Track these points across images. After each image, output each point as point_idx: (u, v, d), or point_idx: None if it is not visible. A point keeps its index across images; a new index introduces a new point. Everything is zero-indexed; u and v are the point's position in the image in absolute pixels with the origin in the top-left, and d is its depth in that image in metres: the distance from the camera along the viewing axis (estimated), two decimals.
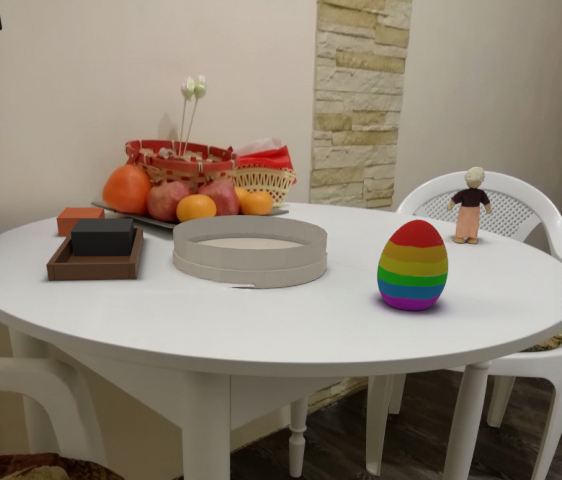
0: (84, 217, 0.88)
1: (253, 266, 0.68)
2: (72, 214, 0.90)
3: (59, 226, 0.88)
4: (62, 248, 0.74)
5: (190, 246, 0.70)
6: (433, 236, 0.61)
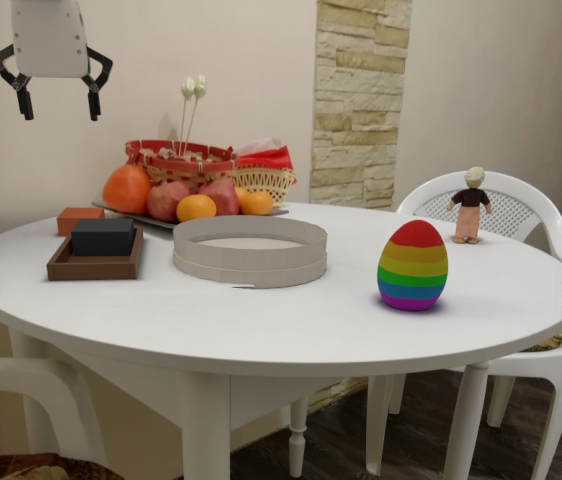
0: (84, 217, 0.88)
1: (253, 266, 0.68)
2: (72, 214, 0.90)
3: (59, 226, 0.88)
4: (62, 248, 0.74)
5: (190, 246, 0.70)
6: (433, 236, 0.61)
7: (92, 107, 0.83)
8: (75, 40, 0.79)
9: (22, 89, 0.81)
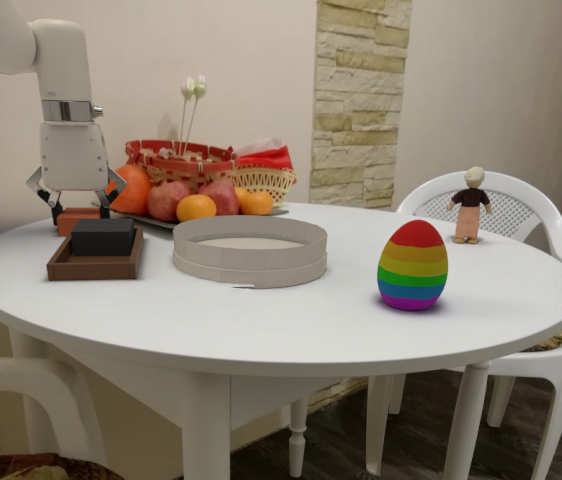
0: (84, 217, 0.88)
1: (253, 266, 0.68)
2: (72, 214, 0.90)
3: (59, 226, 0.88)
4: (62, 248, 0.74)
5: (190, 246, 0.70)
6: (433, 236, 0.61)
7: None
8: (97, 160, 0.86)
9: (56, 205, 0.90)
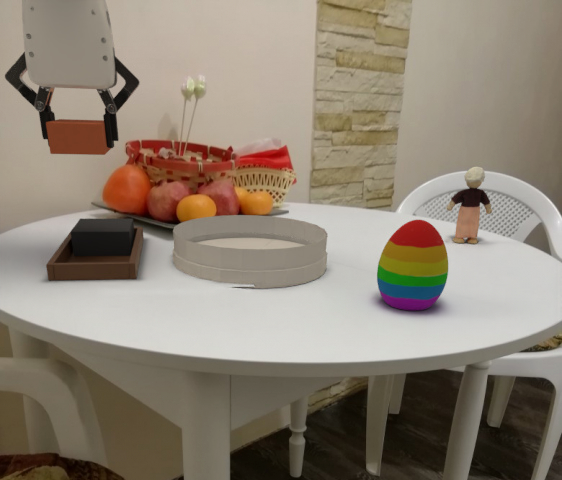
0: (83, 123, 0.66)
1: (253, 266, 0.68)
2: (67, 121, 0.67)
3: (50, 134, 0.65)
4: (62, 248, 0.74)
5: (190, 246, 0.70)
6: (433, 236, 0.61)
7: (108, 131, 0.69)
8: (101, 43, 0.64)
9: (46, 110, 0.67)
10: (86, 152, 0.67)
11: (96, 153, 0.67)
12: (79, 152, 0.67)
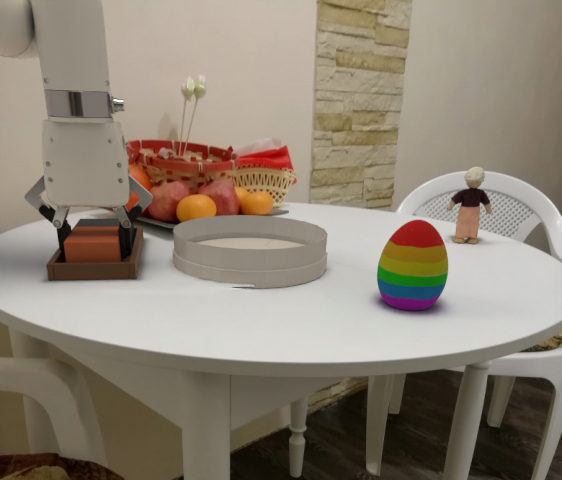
0: (99, 241, 0.68)
1: (253, 266, 0.68)
2: (83, 237, 0.70)
3: (67, 253, 0.68)
4: None
5: (190, 246, 0.70)
6: (433, 236, 0.61)
7: (123, 244, 0.72)
8: (116, 168, 0.67)
9: (63, 225, 0.70)
10: None
11: None
12: None
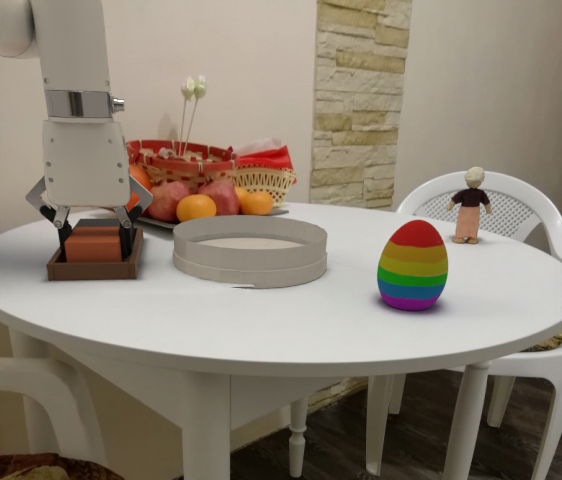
0: (100, 241, 0.68)
1: (253, 266, 0.68)
2: (84, 237, 0.70)
3: (68, 253, 0.68)
4: None
5: (190, 246, 0.70)
6: (433, 236, 0.61)
7: (123, 244, 0.72)
8: (117, 168, 0.67)
9: (64, 226, 0.70)
10: None
11: None
12: None
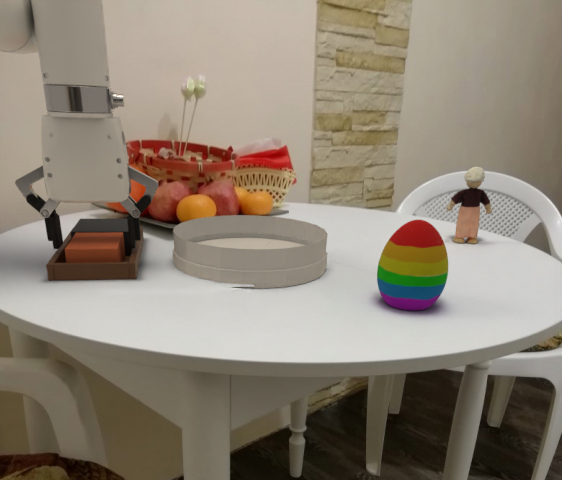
0: (100, 247, 0.69)
1: (253, 266, 0.68)
2: (84, 243, 0.71)
3: (68, 259, 0.68)
4: (62, 248, 0.74)
5: (190, 246, 0.70)
6: (433, 236, 0.61)
7: (132, 234, 0.71)
8: (116, 163, 0.67)
9: (51, 215, 0.69)
10: None
11: None
12: None
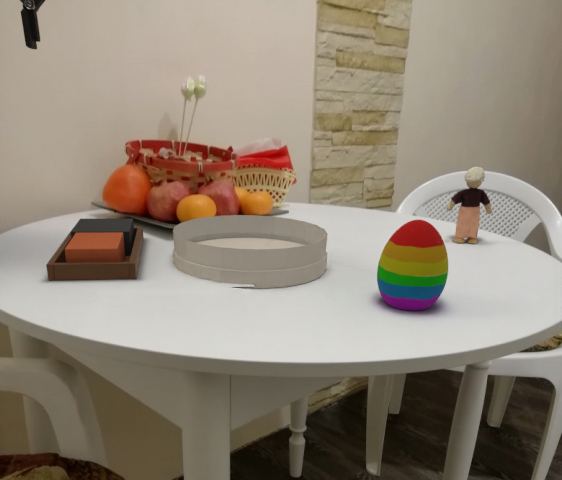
0: (100, 247, 0.69)
1: (253, 266, 0.68)
2: (84, 243, 0.71)
3: (68, 259, 0.68)
4: (62, 248, 0.74)
5: (190, 246, 0.70)
6: (433, 236, 0.61)
7: (27, 29, 0.66)
8: None
9: None
10: None
11: None
12: None
